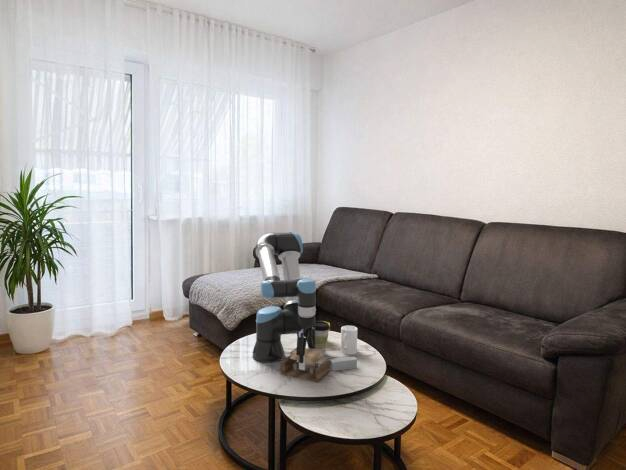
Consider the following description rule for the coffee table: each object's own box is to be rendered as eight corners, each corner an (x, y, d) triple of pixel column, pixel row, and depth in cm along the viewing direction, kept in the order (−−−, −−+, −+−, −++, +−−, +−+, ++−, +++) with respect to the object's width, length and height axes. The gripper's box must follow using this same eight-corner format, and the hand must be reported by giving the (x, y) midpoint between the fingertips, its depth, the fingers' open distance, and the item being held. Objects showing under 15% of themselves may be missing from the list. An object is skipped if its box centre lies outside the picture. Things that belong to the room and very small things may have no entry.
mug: (349, 358, 202) (349, 334, 201) (333, 354, 207) (334, 330, 206) (360, 350, 212) (360, 327, 211) (345, 346, 217) (345, 324, 216)
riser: (332, 371, 188) (332, 362, 188) (329, 368, 191) (329, 359, 190) (356, 367, 192) (357, 359, 192) (353, 365, 195) (354, 356, 194)
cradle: (281, 373, 185) (281, 361, 184) (294, 363, 195) (294, 352, 195) (318, 382, 177) (319, 369, 176) (330, 371, 188) (330, 359, 187)
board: (290, 358, 185) (290, 352, 184) (297, 353, 191) (297, 346, 191) (315, 363, 180) (315, 357, 179) (321, 358, 186) (322, 351, 186)
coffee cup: (314, 358, 201) (315, 328, 199) (304, 351, 210) (306, 321, 208) (332, 355, 206) (333, 325, 204) (322, 348, 214) (323, 319, 212)
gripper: (304, 322, 173) (303, 376, 175) (323, 310, 191) (323, 359, 193) (288, 320, 176) (287, 373, 178) (308, 308, 194) (308, 356, 196)
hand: (306, 365), depth 186 cm, fingers closed on board, 7 cm apart
